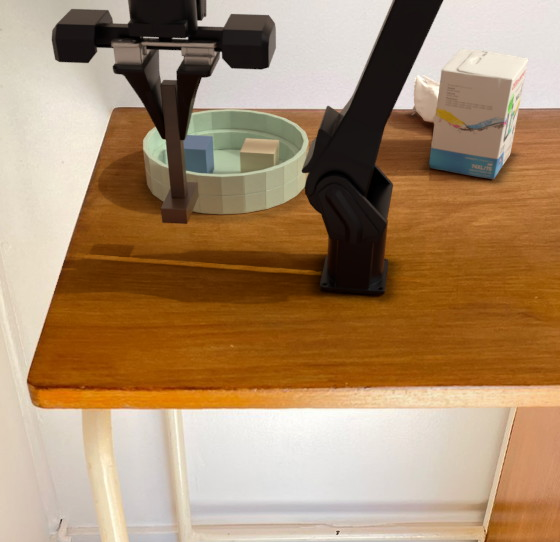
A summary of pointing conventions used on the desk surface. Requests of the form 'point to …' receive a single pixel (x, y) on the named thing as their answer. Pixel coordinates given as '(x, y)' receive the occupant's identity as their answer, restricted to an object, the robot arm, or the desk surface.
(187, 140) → the slate block
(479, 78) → the ink box
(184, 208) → the block-headed hammer
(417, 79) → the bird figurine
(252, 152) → the cream block
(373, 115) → the robot arm
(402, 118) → the desk surface
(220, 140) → the bowl
